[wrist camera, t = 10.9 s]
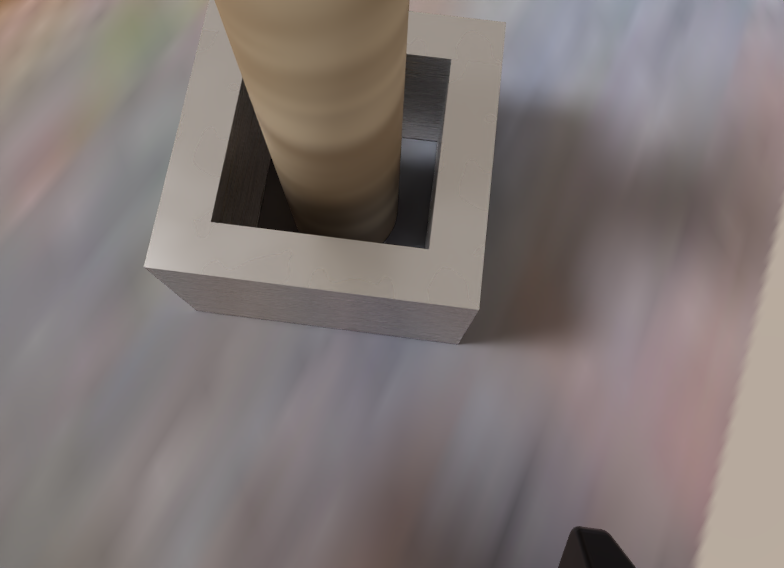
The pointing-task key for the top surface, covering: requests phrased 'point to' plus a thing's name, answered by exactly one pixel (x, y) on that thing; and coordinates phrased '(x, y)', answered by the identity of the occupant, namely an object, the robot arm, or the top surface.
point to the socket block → (320, 253)
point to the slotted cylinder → (328, 105)
